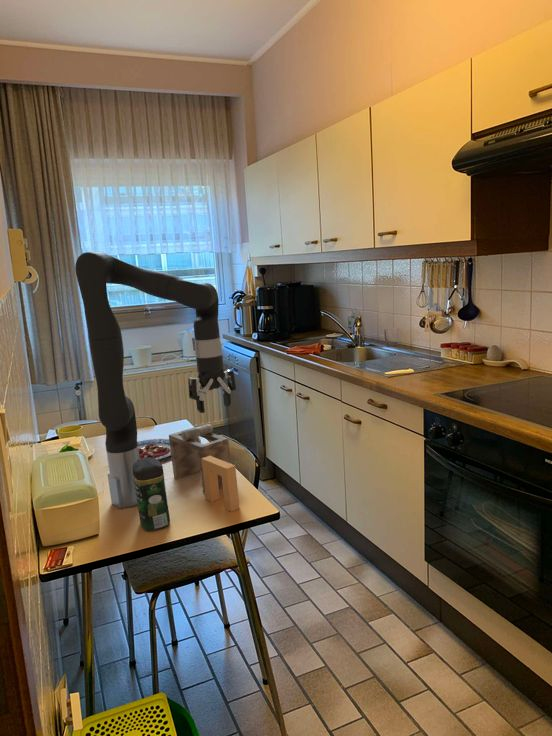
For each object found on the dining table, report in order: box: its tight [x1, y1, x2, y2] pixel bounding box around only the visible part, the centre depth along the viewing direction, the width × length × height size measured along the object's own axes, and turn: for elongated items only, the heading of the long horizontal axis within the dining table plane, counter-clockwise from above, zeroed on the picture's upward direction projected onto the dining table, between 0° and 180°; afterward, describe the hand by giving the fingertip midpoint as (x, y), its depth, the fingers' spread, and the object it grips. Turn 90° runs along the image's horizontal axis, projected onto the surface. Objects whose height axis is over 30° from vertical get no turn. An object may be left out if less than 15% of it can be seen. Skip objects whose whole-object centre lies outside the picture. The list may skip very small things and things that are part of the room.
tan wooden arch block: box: [201, 456, 240, 512], centre depth 165 cm, size 3×13×13 cm, turn 40°
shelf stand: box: [168, 423, 232, 493], centre depth 183 cm, size 10×20×18 cm, turn 40°
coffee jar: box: [133, 457, 171, 531], centre depth 155 cm, size 10×8×19 cm
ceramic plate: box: [137, 438, 171, 461], centre depth 214 cm, size 26×26×3 cm
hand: (214, 409), depth 163 cm, fingers open, 8 cm apart
